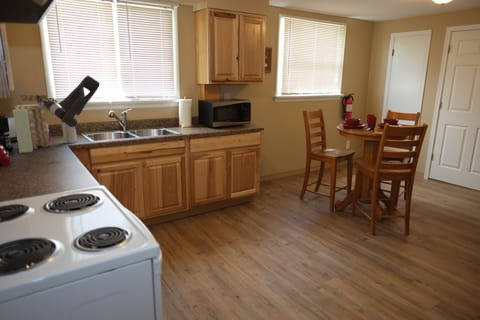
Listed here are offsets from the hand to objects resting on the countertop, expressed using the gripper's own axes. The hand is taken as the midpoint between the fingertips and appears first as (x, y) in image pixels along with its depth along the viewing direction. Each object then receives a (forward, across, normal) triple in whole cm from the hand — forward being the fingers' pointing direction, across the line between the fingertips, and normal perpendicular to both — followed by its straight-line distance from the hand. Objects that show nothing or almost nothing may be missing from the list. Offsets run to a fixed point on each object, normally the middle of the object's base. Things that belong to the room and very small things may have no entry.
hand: (40, 96), depth 238 cm
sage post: (-16, +14, +36) cm, 42 cm away
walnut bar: (+5, 0, +6) cm, 8 cm away
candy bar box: (+6, -16, +49) cm, 52 cm away
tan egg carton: (-6, 0, +41) cm, 42 cm away
